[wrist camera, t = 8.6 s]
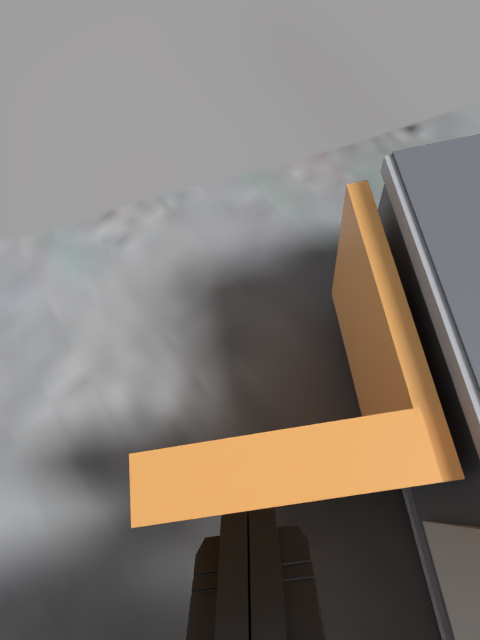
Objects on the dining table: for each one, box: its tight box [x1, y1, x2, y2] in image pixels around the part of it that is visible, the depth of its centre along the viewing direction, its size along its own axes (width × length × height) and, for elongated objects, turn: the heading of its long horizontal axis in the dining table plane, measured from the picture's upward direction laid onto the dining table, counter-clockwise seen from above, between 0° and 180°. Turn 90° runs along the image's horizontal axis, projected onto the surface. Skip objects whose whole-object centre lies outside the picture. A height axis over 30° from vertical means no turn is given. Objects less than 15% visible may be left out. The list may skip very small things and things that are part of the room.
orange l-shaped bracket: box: [129, 180, 465, 528], centre depth 14 cm, size 8×7×8 cm
